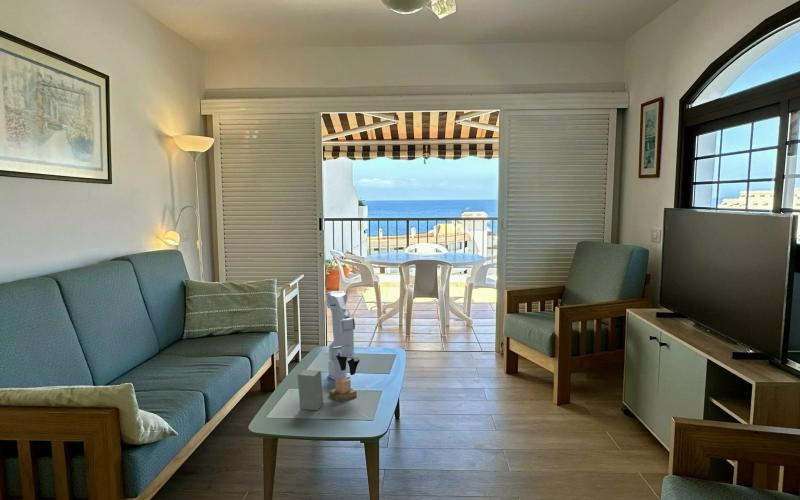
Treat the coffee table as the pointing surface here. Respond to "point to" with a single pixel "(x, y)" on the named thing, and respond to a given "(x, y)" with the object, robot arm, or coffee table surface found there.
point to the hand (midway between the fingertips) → (348, 372)
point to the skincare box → (310, 389)
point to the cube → (342, 385)
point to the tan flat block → (342, 395)
